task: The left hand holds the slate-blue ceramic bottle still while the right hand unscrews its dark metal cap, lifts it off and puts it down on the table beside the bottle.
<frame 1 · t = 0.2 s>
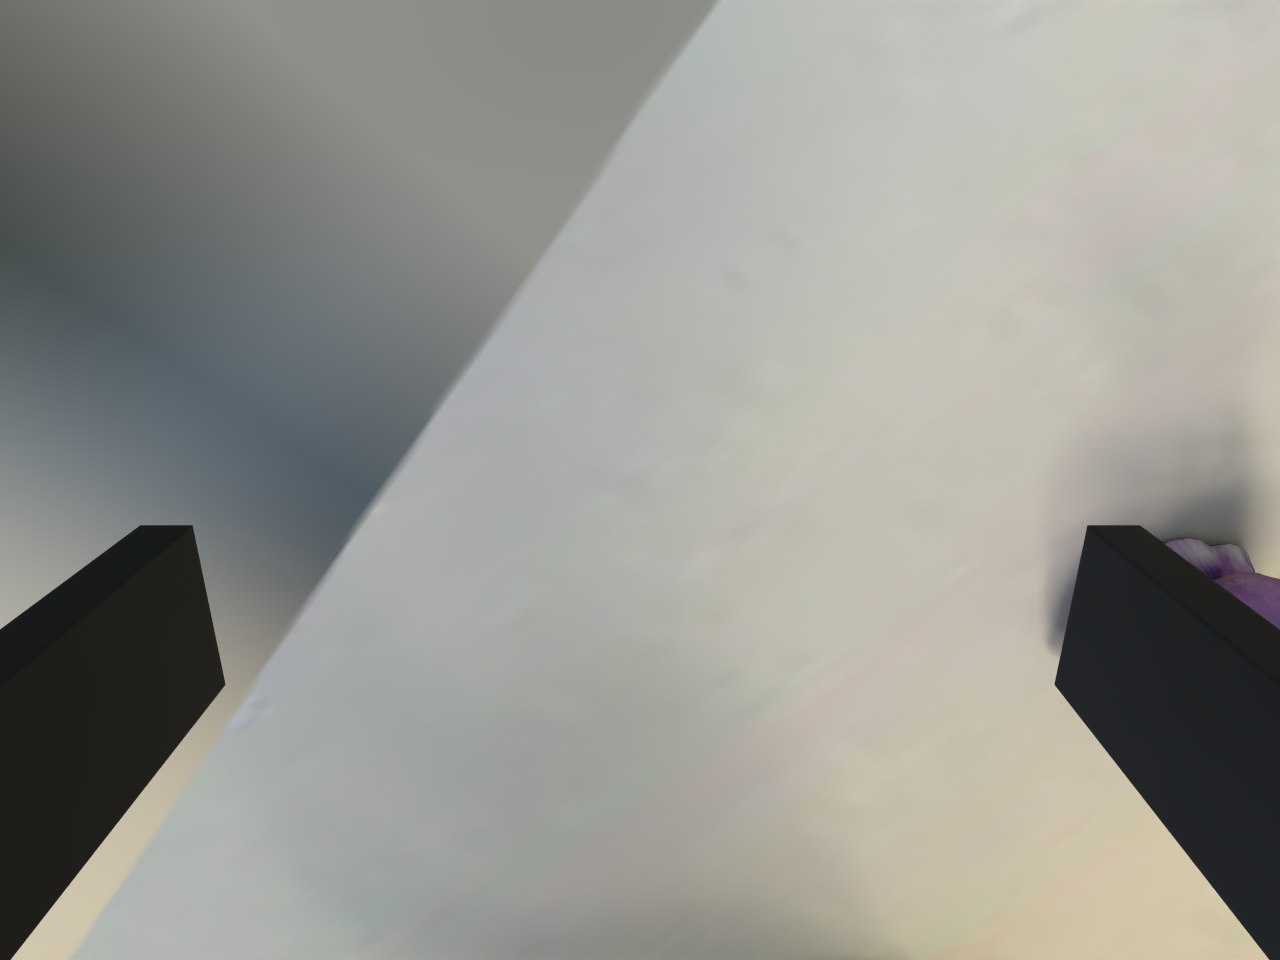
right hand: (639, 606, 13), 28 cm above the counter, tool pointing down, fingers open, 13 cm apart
figurine: (1163, 595, 44), on the counter
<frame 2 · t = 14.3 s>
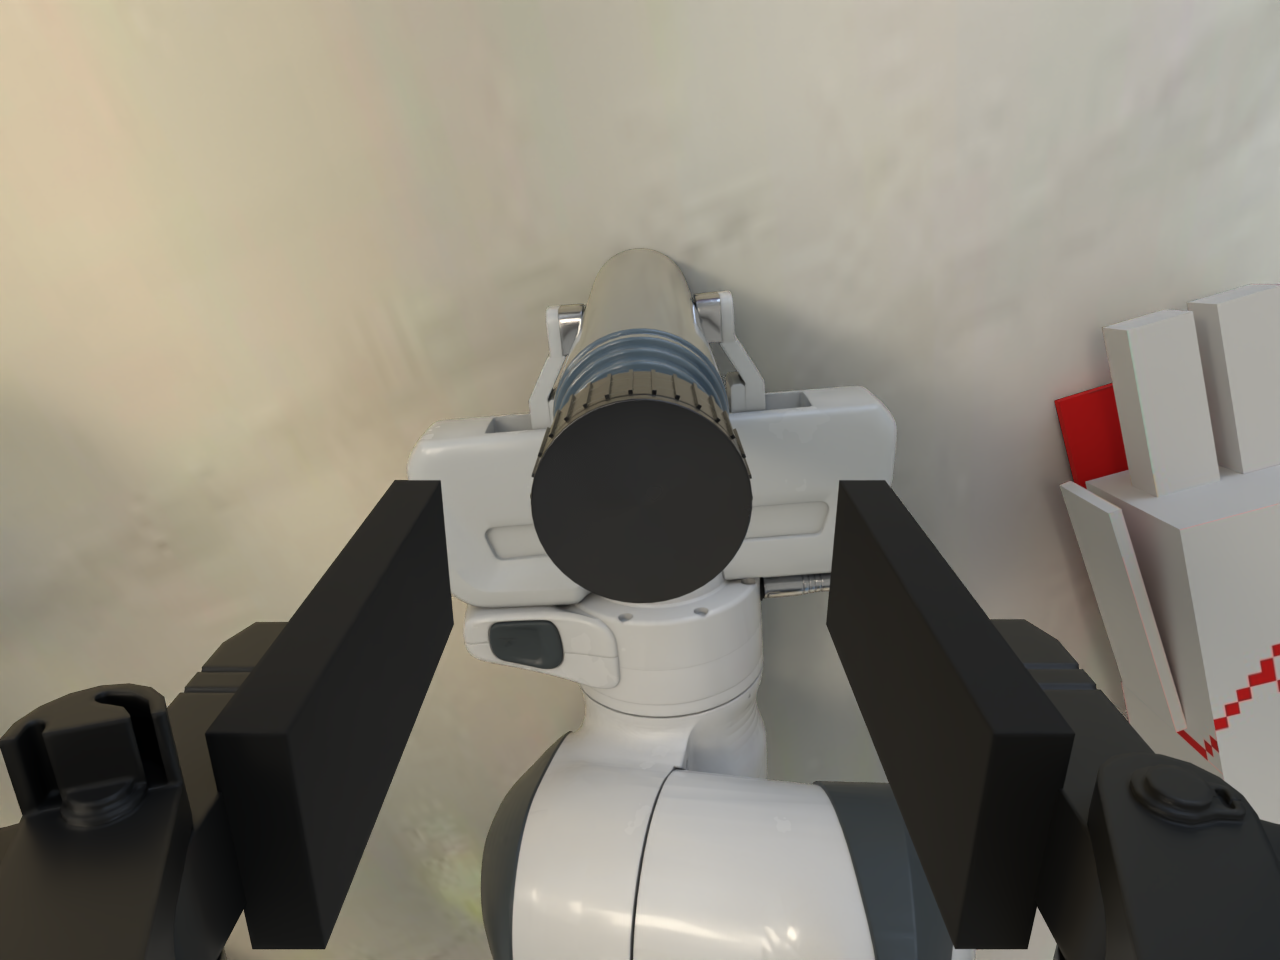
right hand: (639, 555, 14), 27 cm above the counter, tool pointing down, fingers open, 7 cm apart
left hand: (637, 300, 34), fingers closed on bottle, 4 cm apart
toy: (1161, 566, 45), on the counter
cap: (641, 500, 17), point 25 cm above the counter, screwed on, not yet turned
bottle: (640, 297, 40), on the counter, touching left hand
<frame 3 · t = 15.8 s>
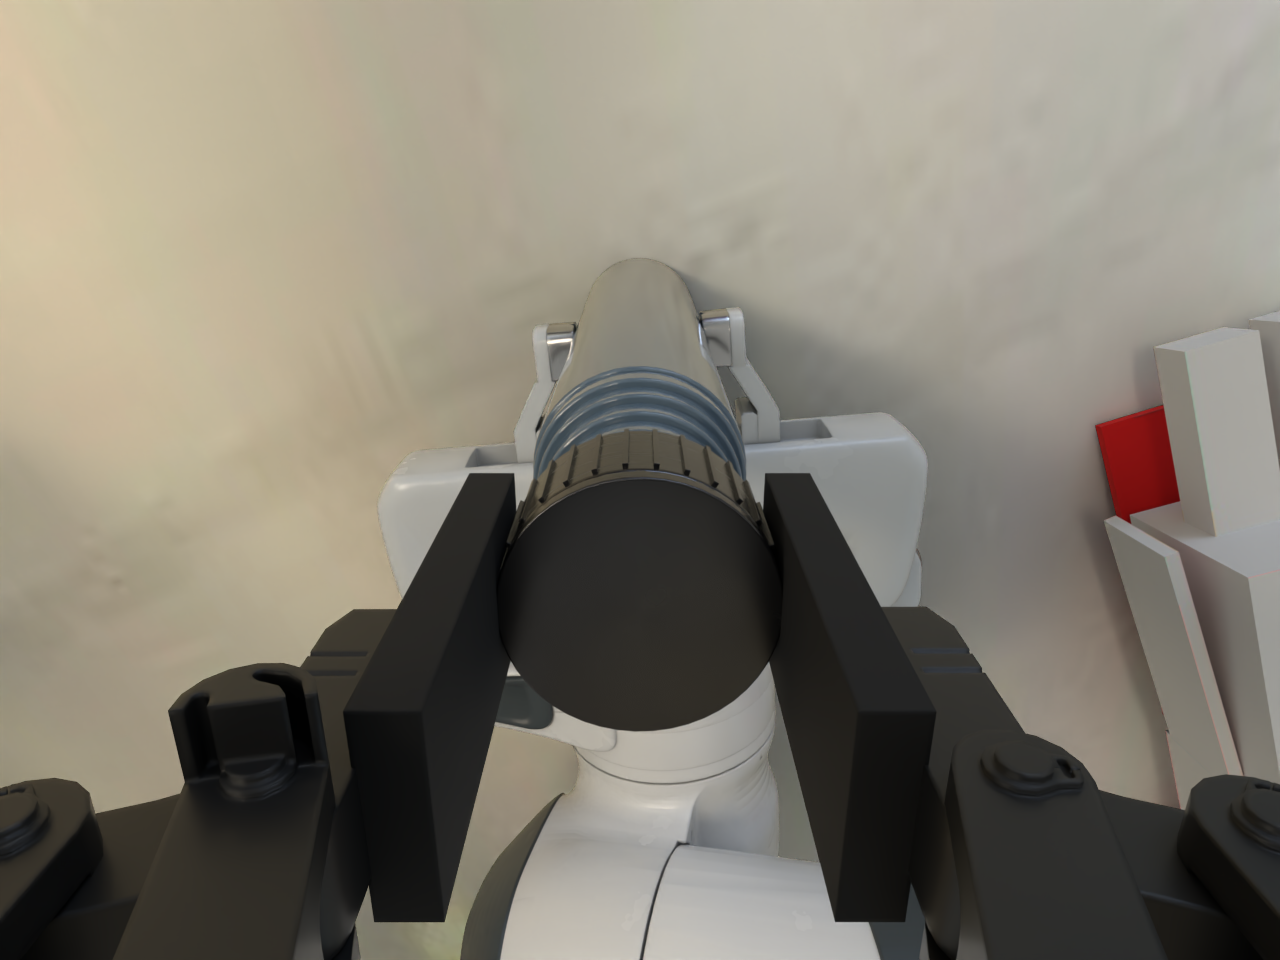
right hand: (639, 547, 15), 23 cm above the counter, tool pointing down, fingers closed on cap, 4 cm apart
toy: (1209, 604, 41), on the counter
cap: (639, 602, 13), point 25 cm above the counter, screwed on, not yet turned, touching right hand
bottle: (639, 312, 36), on the counter, touching left hand
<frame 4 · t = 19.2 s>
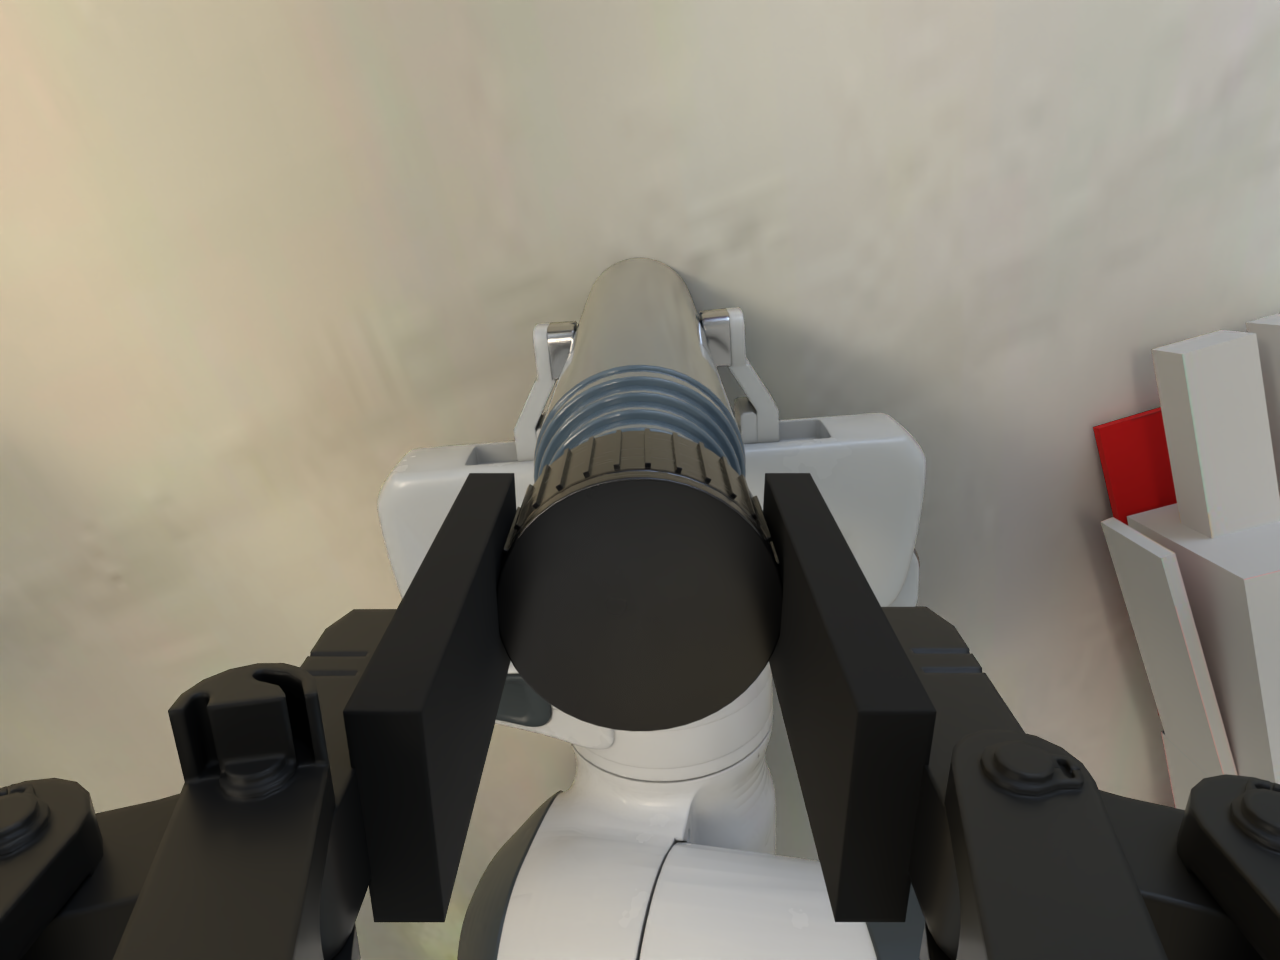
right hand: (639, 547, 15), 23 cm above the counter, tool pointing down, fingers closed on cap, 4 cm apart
toy: (1205, 606, 41), on the counter
cap: (639, 602, 13), point 25 cm above the counter, turned 112° so far, risen 0.1 cm, still on its thread, touching right hand
bottle: (639, 312, 36), on the counter, touching left hand
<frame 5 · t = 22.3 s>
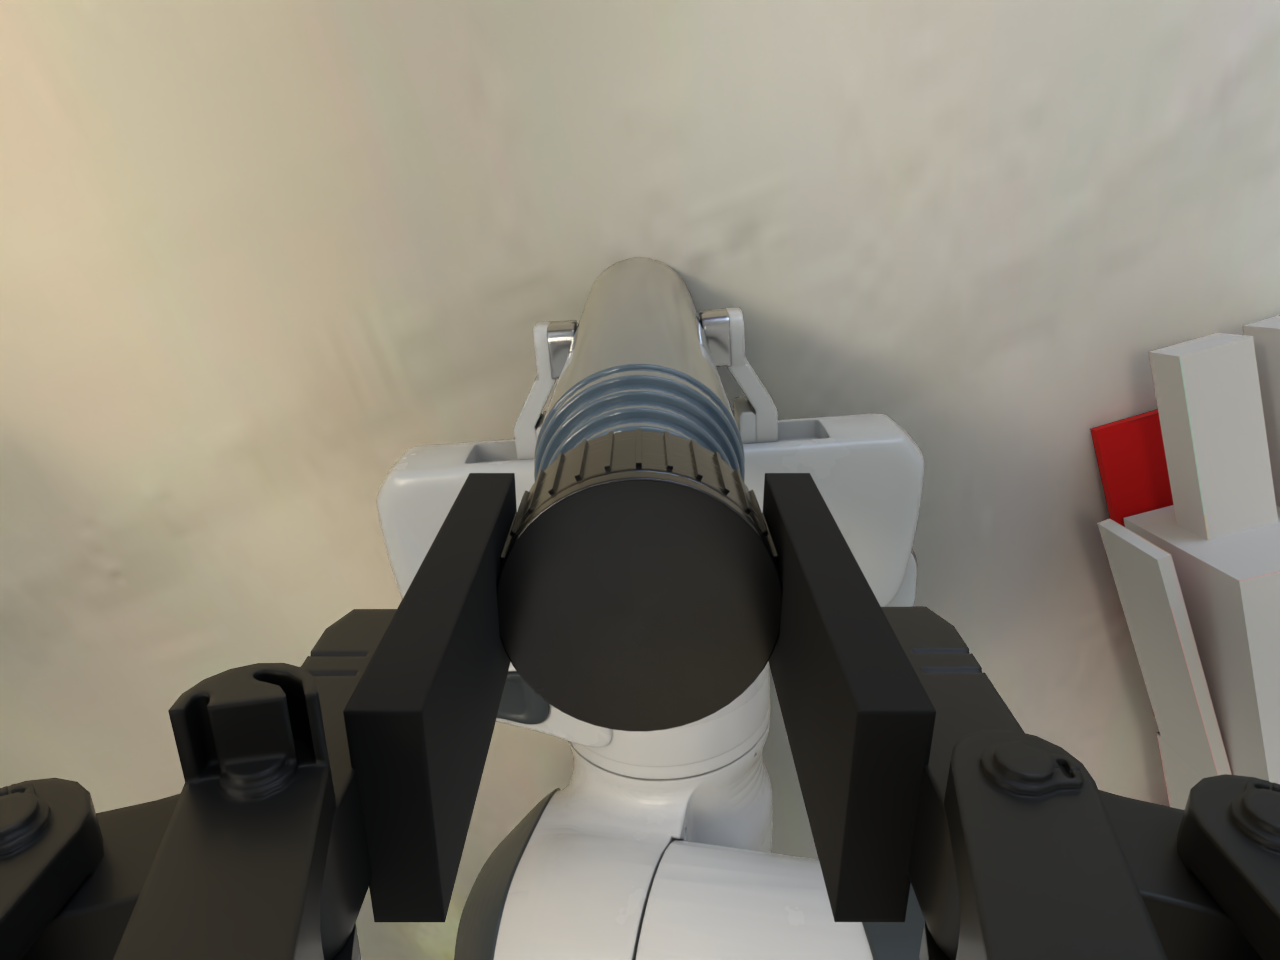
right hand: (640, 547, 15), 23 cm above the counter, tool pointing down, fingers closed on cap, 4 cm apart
toy: (1201, 608, 42), on the counter
cap: (639, 603, 13), point 25 cm above the counter, turned 223° so far, risen 0.2 cm, still on its thread, touching right hand
bottle: (639, 311, 36), on the counter, touching left hand
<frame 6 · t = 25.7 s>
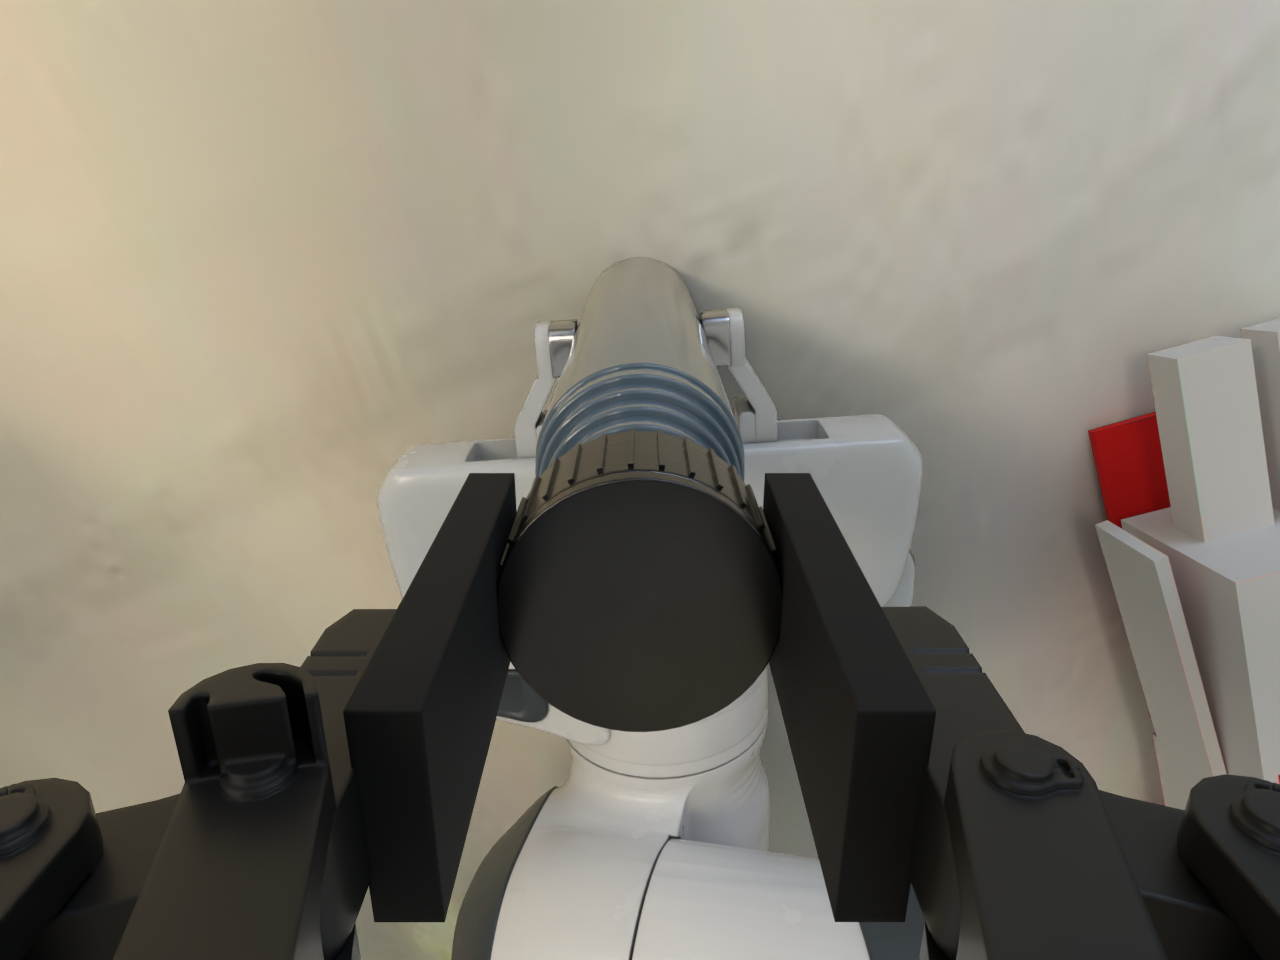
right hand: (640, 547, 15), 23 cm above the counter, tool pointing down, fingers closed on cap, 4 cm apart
toy: (1197, 610, 42), on the counter
cap: (639, 603, 13), point 25 cm above the counter, turned 335° so far, risen 0.3 cm, still on its thread, touching right hand
bottle: (640, 311, 37), on the counter, touching left hand
when the right hand's fingers open (1 cm above the counter, at t = 32.9 s): cap drops 1 cm, point 2 cm above the counter.
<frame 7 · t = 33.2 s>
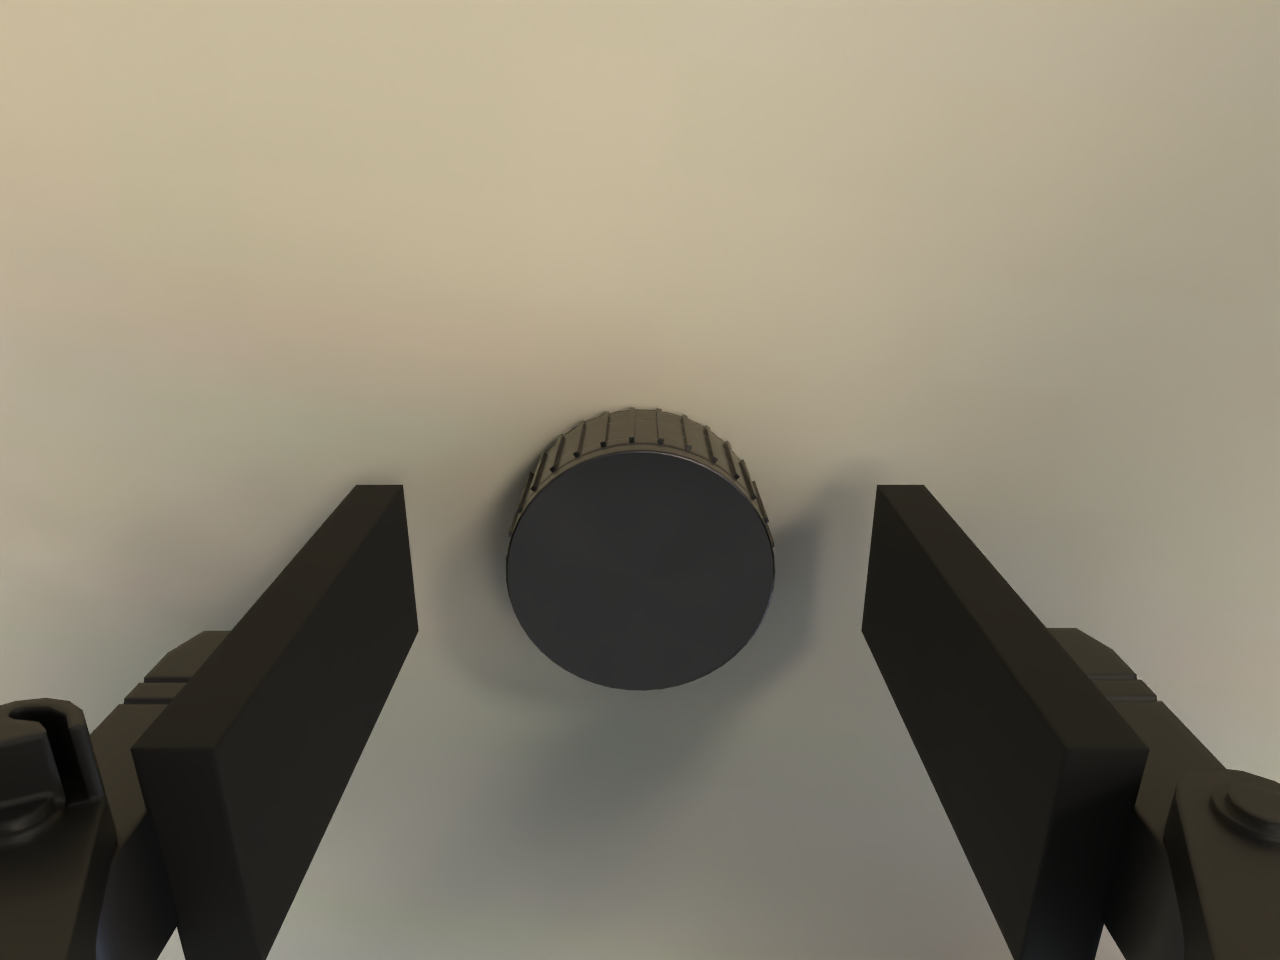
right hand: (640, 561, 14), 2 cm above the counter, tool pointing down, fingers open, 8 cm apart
cap: (640, 569, 14), point 2 cm above the counter, off its thread
when the left hand's fingers open (6 cm above the counter, at t = 34.2 s): bottle stays where it is, on the counter.
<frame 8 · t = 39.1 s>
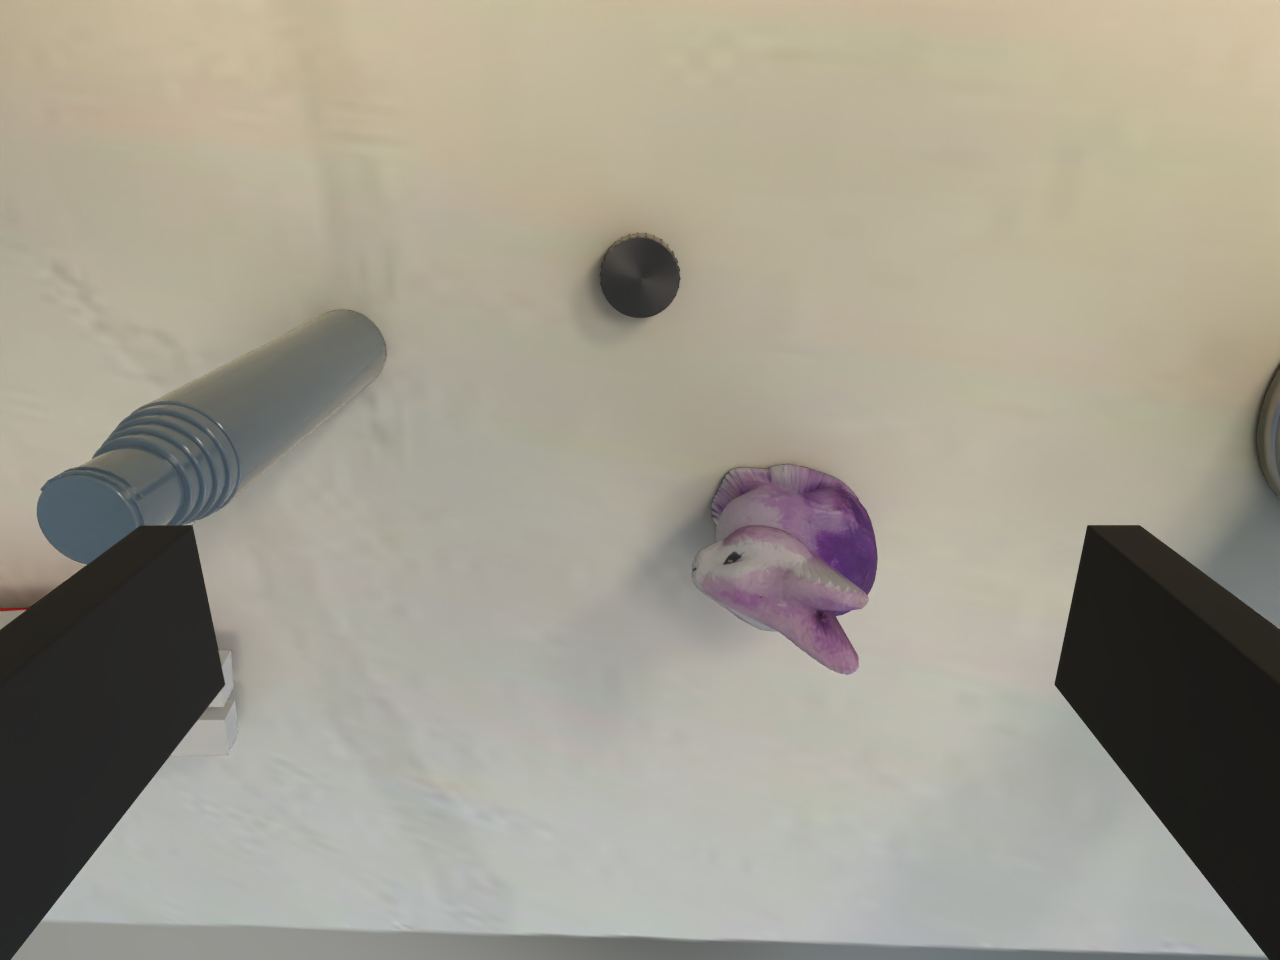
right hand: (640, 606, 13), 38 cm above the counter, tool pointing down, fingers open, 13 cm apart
toy: (29, 646, 57), on the counter
cap: (640, 277, 46), point 2 cm above the counter, off its thread
bottle: (347, 348, 49), on the counter
figurine: (776, 520, 53), on the counter
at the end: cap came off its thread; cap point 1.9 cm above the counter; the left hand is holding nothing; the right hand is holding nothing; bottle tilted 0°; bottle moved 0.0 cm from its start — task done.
